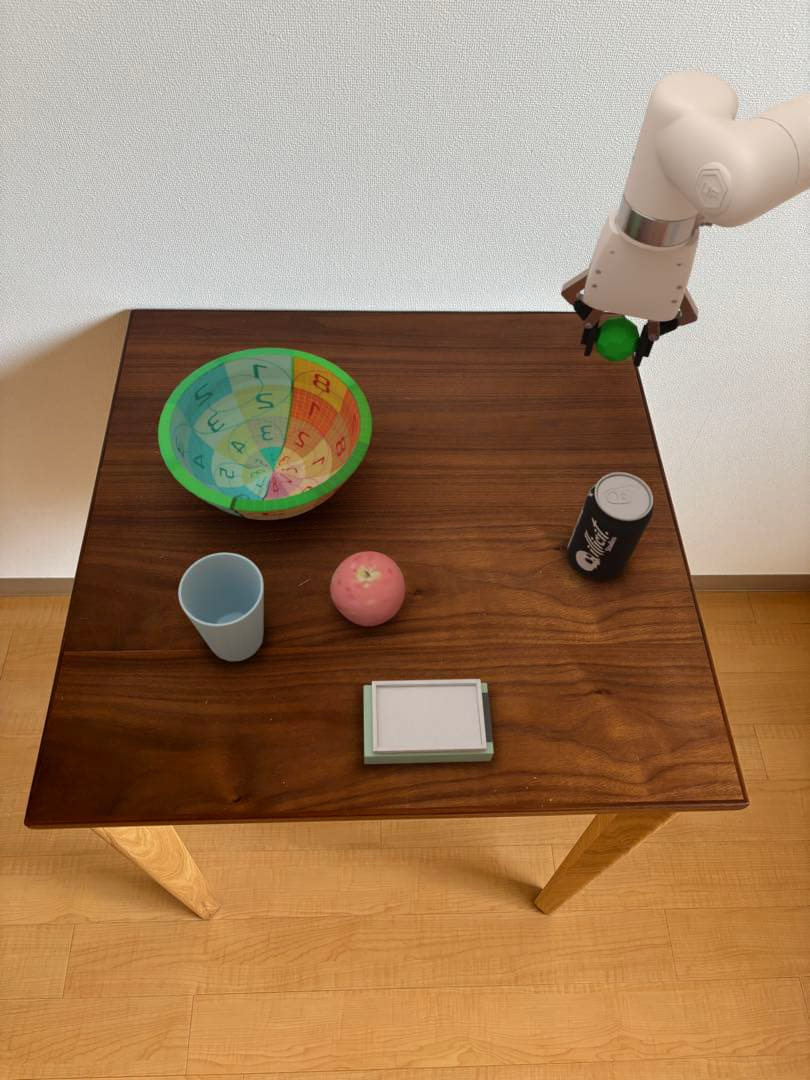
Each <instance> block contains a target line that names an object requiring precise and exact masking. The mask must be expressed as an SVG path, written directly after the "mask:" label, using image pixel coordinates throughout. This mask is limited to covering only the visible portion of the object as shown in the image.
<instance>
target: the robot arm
mask: <svg viewBox="0 0 810 1080" xmlns="http://www.w3.org/2000/svg"><path fill="white" fill-rule="evenodd" d="M738 111H739V99H738V94H737V92H736V90H735V89H734V88H733V87H732V85H731V84H730V83H728V82H727V81H726V80H725V79H723V78H721V77H720V76H717V75H715V74H712V73H709V72H706V71H705V72H704V71H698V70H681V71H676V72H673V73H671V74H668V75H666V76H665V77H663V78H661V79H660V81H659V82H657V83H656V85H655V86H654V87H653V89H652V91H651V93H650V96H649V99H648V101H647V106H646V109H645V113H644V116H643V120H642V123H641V127H640V131H639V135H638V138H637V142H636V145H635V149H634V151H633V152H634V153H633V155H632V160H631V164H630V167H629V170H628V174H627V177H626V182H625V185H624V188H623V192H622V195H621V199H620V203H619V206H616V207H614V208H613V209H612V210H611V211H610V212H609V214H608V216H607V217H606V220H605V221H604V224H603V226H602V228H601V230H600V232H599V235H598V238H597V241H596V244H595V246H594V248H593V249H594V250H593V252H592V256H591V258H590V262H589V266H588V268H586V269H584V270H582V271H581V272H580V273H578V274H577V275H575V276H574V277H573V278H571V279H569V280H568V281H567V282H565V283H563V285H562V287H561V291H560V295H561V297H562V298H563V299H564V300H565V301H566V302H567V303H568V305H571V306H572V307H573V310H574V312H575V313H576V314H577V316H578V317H579V318H580V319H581V321H583V325H582V326H583V331H582V334H581V339H580V345H583V346H584V347H585V348H584V352H583V357H590V356H591V355H592V351H593V347H594V346H595V338H596V334H597V330H598V328H599V326H600V320H601V317H602V316H603V315H604V314H605V312H606V313H612V314H617V315H621V316H625V317H626V316H627V317H631V318H638V319H641V320H642V319H643V320H647V322H646V323H645V324H643V326H642V329H641V332H640V334H639V337H640V343H639V346H638V349H637V350H636V351H635V353H634V357H633V363H632V364H633V365H634V367H636V368H640V366H641V364H642V361H643V359H644V358H649V357H650V354H651V351H652V350H653V346H654V344H655V342H657V341H659V340H660V337H662V336H664V335H666V334H669V333H671V332H673V331H675V330H677V329H678V327H684V326H687V325H690V324H693V323H695V322H697V321H698V319H699V308H698V307H697V305H696V302H695V301H694V299H693V297H692V296H691V293H690V292H689V290H688V288H687V286H688V285H689V280H690V277H691V274H692V270H693V266H694V261H695V256H696V254H697V248H698V245H699V238H700V233H701V231H700V229H701V228H703V227H708V228H709V227H710V228H712V227H713V225H715V226H717V227H721V228H728V229H729V228H730V229H731V228H737V227H741V226H743V225H746V224H749V223H750V222H752V221H754V220H756V219H759V217H761V216H764V215H765V214H766V213H768V212H770V211H772V210H774V209H776V208H777V207H779V206H781V205H782V204H784V203H786V202H787V201H789V200H791V199H793V198H795V197H796V196H798V195H799V194H800V195H801V194H802V193H804V192H806V191H807V190H810V92H808V93H805V94H802V95H798V96H796V97H792V98H790V99H788V100H786V101H783V102H781V103H778V104H777V105H774V106H771V107H769V108H768V109H766V110H763V111H762V112H759V113H758V114H755V115H754V116H751V117H750V118H746V119H736V117H737V114H738ZM700 227H701V228H700ZM582 291H583V293H581V292H582Z"/></svg>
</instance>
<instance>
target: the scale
mask: <svg viewBox="0 0 810 1080" xmlns="http://www.w3.org/2000/svg"><path fill="white" fill-rule="evenodd" d="M481 681H482V680H481V678H462V679H459V678H457V679H414V680H413V679H411V680H408V679H407V680H406V679H405V680H372V681H371V684H369V685H368V684H365V685H363V759H364V760H363V763H364V765H386V764H387V765H389V764H390V765H391V764H429V763H432V764H433V763H465V762H466V763H467V762H491V761H492V758H493V756H494V753H495V752H494V736H493V727H492V717H491V707H490V696H489V695H490V694H489V690H488V683H487V682H481Z"/></svg>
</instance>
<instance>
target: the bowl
mask: <svg viewBox="0 0 810 1080" xmlns="http://www.w3.org/2000/svg"><path fill="white" fill-rule="evenodd" d="M370 408H371V407H370V404H369V402H368V399H367V398H366V395H365V394H364V392H363V391H362V389H361V388H360V386H359V385H358V383H357V382H356V381H355V380H354V379H353V378H352V377H351V376H350V375H349V374H348V373H347V372H345V371H344V370H343V369H341V367H339V366H338V365H336V364H335V363H333V362H331V361H329V360H327V359H326V358H323V357H321V356H317V355H315V354H313V353H310V352H306V351H302V350H297V349H292V348H291V349H290V348H284V347H283V348H282V347H260V348H249V349H245V350H240V351H234V352H231V353H229V354H225V355H223V356H220V357H217V358H215V359H213V360H210V361H209V362H207V363H205V364H203V365H201V366H200V367H198V368H197V369H195V370H194V371H192V373H190V374H189V375H188V376H186V377H185V378H184V379H183V380H182V381H181V382H180V383H179V384H178V385H177V386H176V387H175V389H174V390H173V391H172V392H171V394H170V396H169V397H168V398H167V400H166V402H165V404H164V406H163V409H162V412H161V414H160V418H159V422H158V428H157V436H158V437H157V439H158V442H157V443H158V447H159V451H160V455H161V458H162V460H163V462H164V463H165V466H166V469H168V471H169V472H170V474H172V476H173V478H174V479H175V480H176V481H177V482H178V483H179V484H180V485H181V486H183V488H185V489H186V490H187V491H189V492H190V493H192V494H193V495H194V496H196V497H198V498H199V499H201V500H203V501H205V502H206V503H208V504H210V505H212V506H213V507H216V508H217V509H219V510H221V511H223V512H226V513H228V514H230V515H232V516H233V515H234V516H237V517H241V518H243V519H250V520H257V521H276V520H284V519H288V518H292V517H296V516H299V515H302V514H305V513H306V512H309V511H311V510H312V509H314V508H316V507H318V506H320V505H321V504H323V503H325V501H327V500H329V498H331V497H332V496H333V495H334V494H335V493H336V492H337V491H338V490H339V489H340V488H341V487H342V486H343V485H344V484H345V483H346V482H347V481H348V479H349V478H350V477H351V476H352V475H353V474H354V473H355V472H356V471H357V469H358V468H359V466H360V464H361V463H362V461H363V460H364V458H365V457H366V454H367V451H368V449H369V446H370V444H371V440H372V439H371V438H372V433H373V417H372V413H371V409H370Z"/></svg>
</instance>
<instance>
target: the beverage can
mask: <svg viewBox="0 0 810 1080" xmlns="http://www.w3.org/2000/svg"><path fill="white" fill-rule="evenodd" d="M653 503H654V496H653V492H652V490H651V487H649V485H648V484H647V483H646V482H645V481H644V480H643V479H641V478H640V477H638V476H636V475H634V474H631V473H628V472H624V471H623V472H621V471H616V472H610V473H607V474H605V475H604V476H602V477H601V478H600V479H599V480H598V481H597V482H596V483H594V485H592V487H590V489H589V491H588V493H587V496H586V498H585V500H584V503H583V506H582V508H581V511H580V513H579V516H578V518H577V521H576V523H575V526H574V528H573V531H572V534H571V536H570V538H569V541H568V544H567V549H566V554H567V558H568V561H569V563H570V565H571V567H572V568H573V569H574V570H575V571H576V572H577V573H578V574H580V575H582V576H583V577H584V578H587V579H590V580H593V581H601V582H602V581H608V580H612V579H615V578H616V577H618V576H619V575H620V574H622V573H623V571H624V570H625V568H626V566H627V565H628V563H629V561H630V559H631V557H632V556H633V553H634V552H635V549H636V547H637V546H638V544H639V542H640V540H641V538H642V537H643V535H644V532H645V531H646V529H647V526H648V525H649V523H650V521H651V519H652V517H653V512H654V506H653V505H654V504H653Z"/></svg>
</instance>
